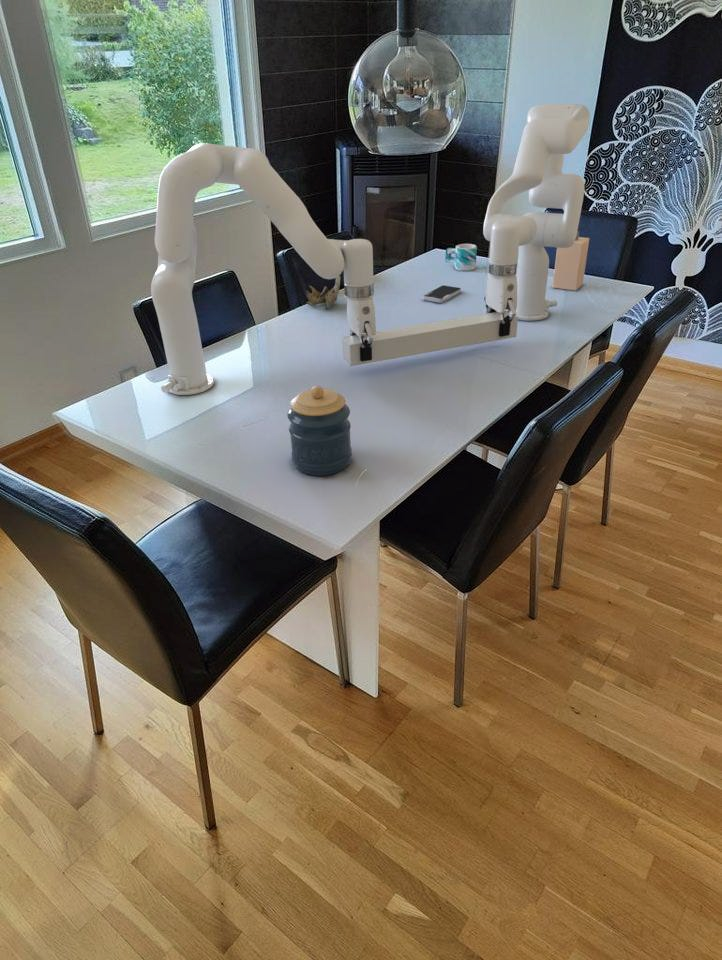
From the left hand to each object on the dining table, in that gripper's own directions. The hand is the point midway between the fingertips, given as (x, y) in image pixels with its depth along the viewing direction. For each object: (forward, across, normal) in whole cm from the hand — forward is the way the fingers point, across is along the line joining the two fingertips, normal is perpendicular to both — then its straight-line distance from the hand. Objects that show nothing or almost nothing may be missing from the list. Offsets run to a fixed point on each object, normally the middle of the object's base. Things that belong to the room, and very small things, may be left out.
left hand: (361, 355), depth 182 cm
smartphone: (+5, +50, -49) cm, 70 cm away
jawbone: (+5, +60, -9) cm, 61 cm away
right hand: (0, 0, -42) cm, 42 cm away
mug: (+5, +80, -71) cm, 107 cm away
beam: (+1, 0, -21) cm, 21 cm away
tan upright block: (+5, +39, -93) cm, 101 cm away
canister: (+5, -41, +24) cm, 48 cm away
